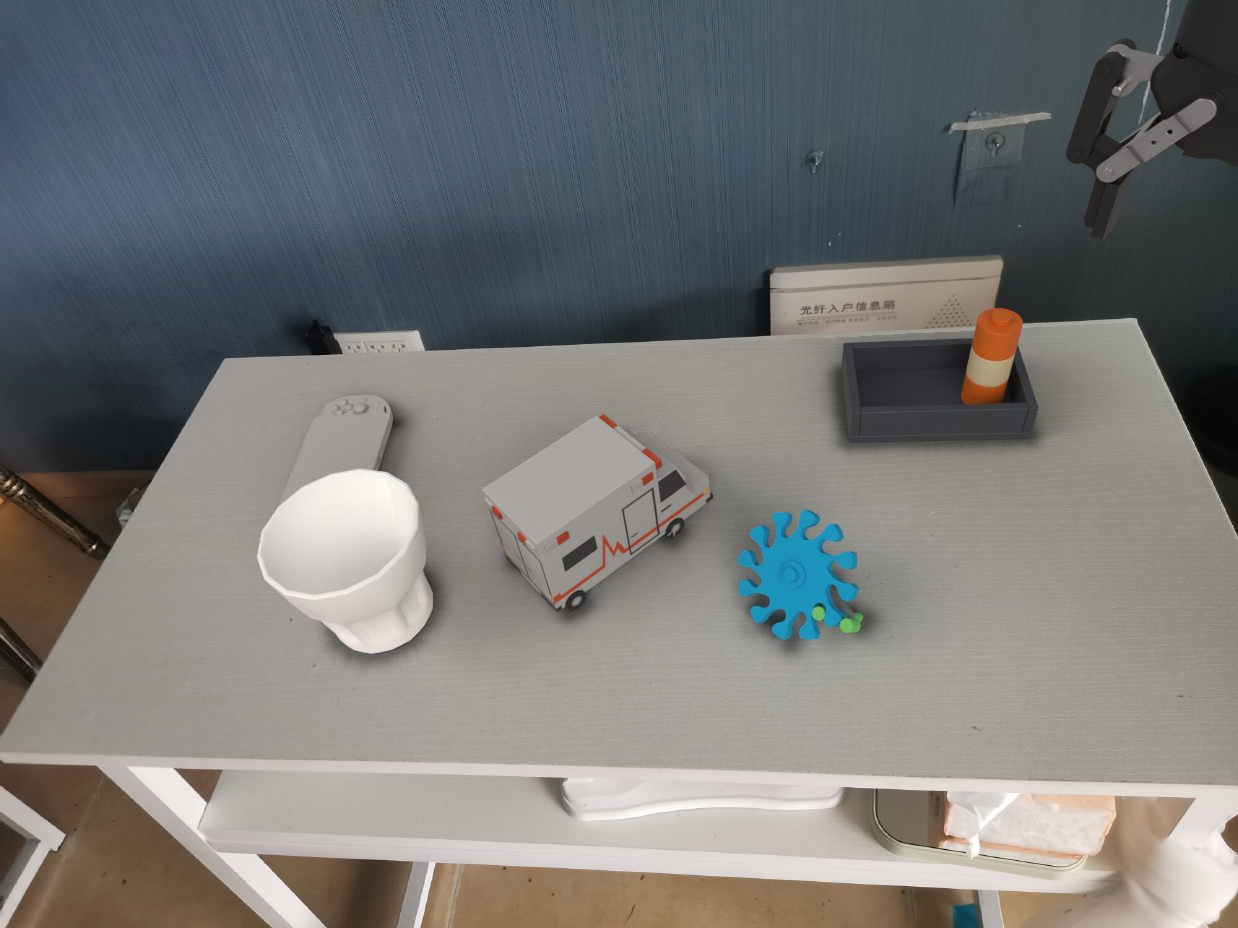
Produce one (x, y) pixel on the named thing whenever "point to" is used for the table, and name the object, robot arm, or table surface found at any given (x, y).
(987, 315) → the orange cylinder
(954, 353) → the bin
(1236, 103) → the robot arm
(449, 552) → the table surface
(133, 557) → the table surface
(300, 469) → the game console
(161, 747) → the table surface
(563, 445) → the toy vehicle
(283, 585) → the cup
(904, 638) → the table surface
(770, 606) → the gear
